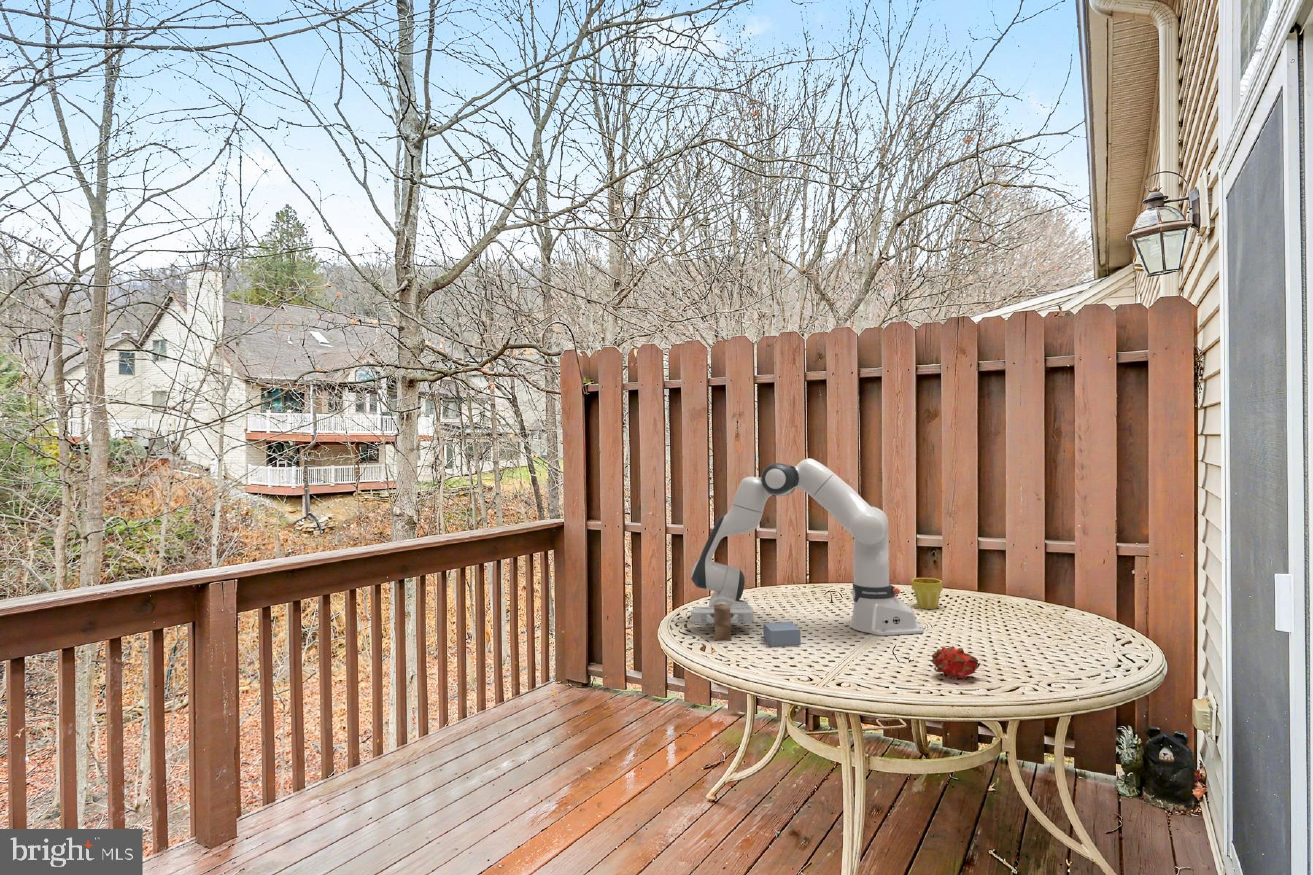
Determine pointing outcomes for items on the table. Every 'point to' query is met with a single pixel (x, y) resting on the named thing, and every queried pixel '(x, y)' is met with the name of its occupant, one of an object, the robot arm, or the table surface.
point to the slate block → (782, 634)
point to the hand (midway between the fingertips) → (722, 621)
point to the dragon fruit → (954, 662)
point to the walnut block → (722, 622)
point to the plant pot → (927, 592)
